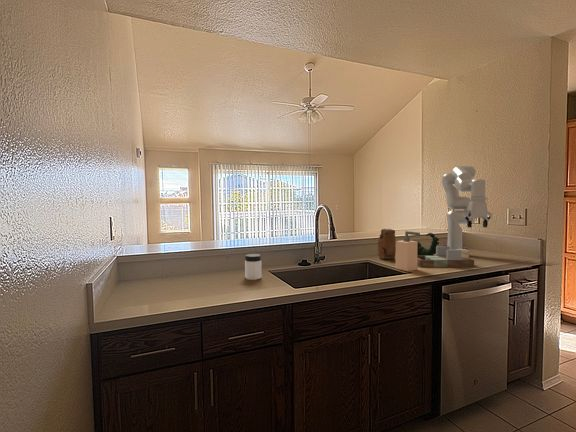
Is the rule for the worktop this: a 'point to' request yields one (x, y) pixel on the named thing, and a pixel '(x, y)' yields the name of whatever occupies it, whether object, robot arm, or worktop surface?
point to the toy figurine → (432, 250)
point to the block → (387, 244)
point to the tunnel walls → (448, 253)
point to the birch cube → (464, 253)
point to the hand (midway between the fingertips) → (477, 227)
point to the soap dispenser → (406, 253)
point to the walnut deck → (443, 262)
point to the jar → (253, 266)
